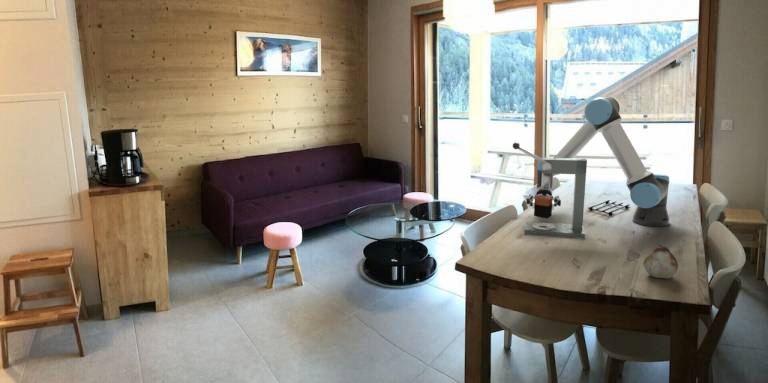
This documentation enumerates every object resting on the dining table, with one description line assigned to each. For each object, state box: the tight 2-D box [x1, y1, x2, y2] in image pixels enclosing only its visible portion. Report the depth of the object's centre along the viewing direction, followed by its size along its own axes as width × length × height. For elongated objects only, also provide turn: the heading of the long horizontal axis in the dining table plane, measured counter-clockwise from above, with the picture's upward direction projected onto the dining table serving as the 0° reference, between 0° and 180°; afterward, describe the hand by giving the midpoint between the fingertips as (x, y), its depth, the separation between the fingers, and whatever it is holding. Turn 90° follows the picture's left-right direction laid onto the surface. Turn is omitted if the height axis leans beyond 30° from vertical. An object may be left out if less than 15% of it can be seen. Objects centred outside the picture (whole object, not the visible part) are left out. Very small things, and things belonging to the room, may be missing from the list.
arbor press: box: [512, 141, 588, 239], centre depth 216 cm, size 32×14×40 cm, turn 72°
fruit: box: [643, 244, 679, 279], centre depth 166 cm, size 10×9×12 cm
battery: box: [533, 194, 553, 219], centre depth 221 cm, size 4×7×10 cm, turn 48°
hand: (543, 206), depth 216 cm, fingers closed on battery, 8 cm apart
